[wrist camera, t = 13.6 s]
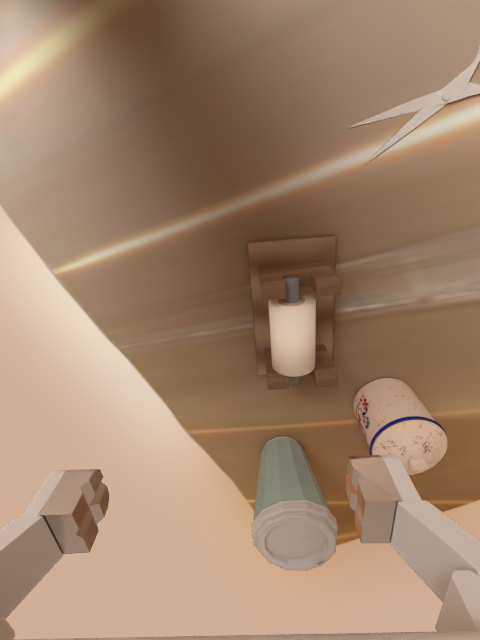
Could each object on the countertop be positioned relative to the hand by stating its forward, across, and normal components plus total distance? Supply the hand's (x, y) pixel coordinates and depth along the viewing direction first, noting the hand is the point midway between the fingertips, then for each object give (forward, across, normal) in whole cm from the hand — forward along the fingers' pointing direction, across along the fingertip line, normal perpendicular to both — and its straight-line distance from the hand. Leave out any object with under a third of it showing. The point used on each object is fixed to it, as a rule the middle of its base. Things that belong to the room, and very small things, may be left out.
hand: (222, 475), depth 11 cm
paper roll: (+25, -5, +8) cm, 27 cm away
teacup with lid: (+31, -19, +25) cm, 44 cm away
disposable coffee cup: (+31, -4, +32) cm, 45 cm away
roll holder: (+31, -6, +8) cm, 33 cm away
